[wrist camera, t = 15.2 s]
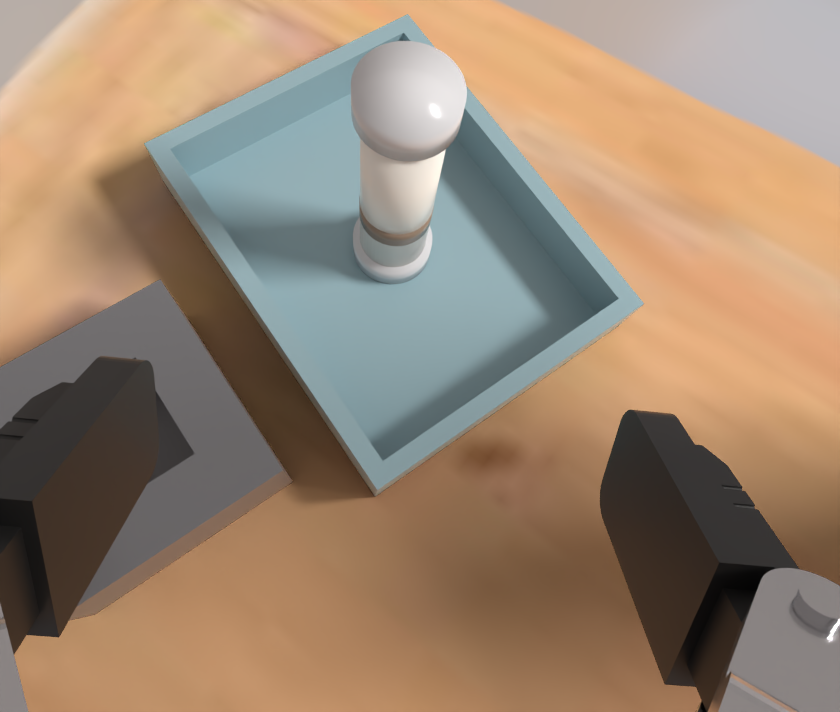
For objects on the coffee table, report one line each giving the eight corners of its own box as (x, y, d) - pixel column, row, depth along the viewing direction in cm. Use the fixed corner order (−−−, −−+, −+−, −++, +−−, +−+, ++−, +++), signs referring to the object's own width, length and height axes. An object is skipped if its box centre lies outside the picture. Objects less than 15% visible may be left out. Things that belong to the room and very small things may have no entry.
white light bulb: (401, 202, 31) (423, 24, 21) (444, 259, 31) (489, 105, 20) (338, 238, 30) (327, 71, 20) (381, 298, 30) (394, 158, 19)
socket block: (185, 315, 29) (160, 279, 25) (292, 481, 28) (283, 470, 24) (-10, 426, 27) (-69, 405, 23) (94, 614, 25) (48, 625, 22)
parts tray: (403, 58, 35) (407, 14, 32) (617, 326, 31) (644, 303, 28) (163, 181, 31) (143, 143, 28) (374, 496, 28) (377, 490, 25)
